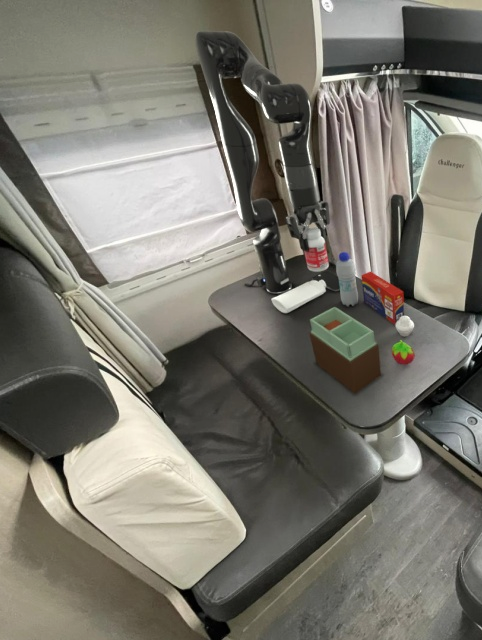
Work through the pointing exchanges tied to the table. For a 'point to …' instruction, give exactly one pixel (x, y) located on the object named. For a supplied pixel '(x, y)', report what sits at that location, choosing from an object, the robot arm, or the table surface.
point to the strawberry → (402, 353)
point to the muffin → (404, 326)
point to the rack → (345, 349)
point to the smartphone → (328, 281)
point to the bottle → (347, 279)
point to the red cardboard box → (383, 297)
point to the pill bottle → (316, 251)
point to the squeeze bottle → (299, 296)
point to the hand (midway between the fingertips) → (314, 245)
